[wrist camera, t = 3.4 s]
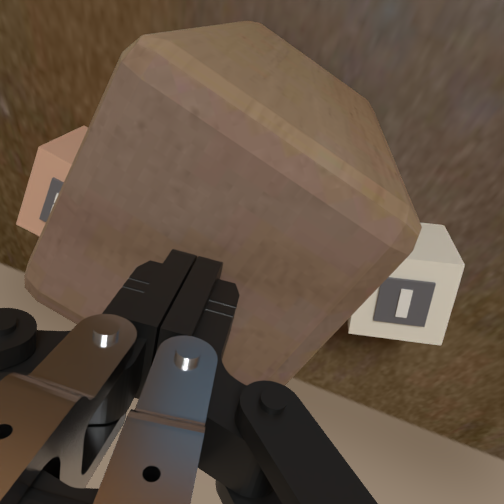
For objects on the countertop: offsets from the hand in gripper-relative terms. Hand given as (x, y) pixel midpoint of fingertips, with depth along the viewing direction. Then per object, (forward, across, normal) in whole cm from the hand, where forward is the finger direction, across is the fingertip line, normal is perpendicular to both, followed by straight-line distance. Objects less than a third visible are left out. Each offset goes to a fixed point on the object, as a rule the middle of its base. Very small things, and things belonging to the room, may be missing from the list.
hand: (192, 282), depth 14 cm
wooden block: (+21, 0, 0) cm, 21 cm away
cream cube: (+21, -11, +7) cm, 25 cm away
